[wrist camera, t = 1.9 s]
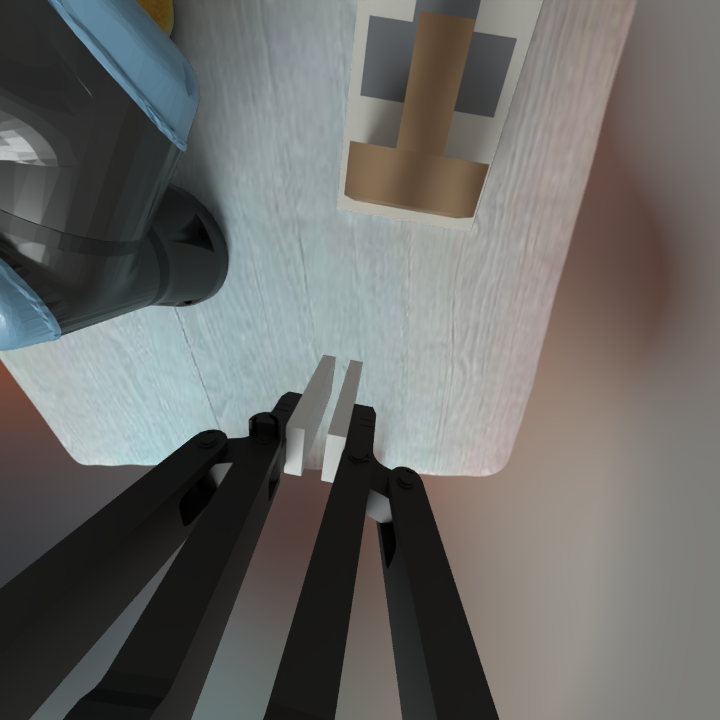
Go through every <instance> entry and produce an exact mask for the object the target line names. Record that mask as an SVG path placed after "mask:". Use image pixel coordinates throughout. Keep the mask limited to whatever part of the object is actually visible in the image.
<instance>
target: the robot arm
mask: <svg viewBox="0 0 720 720" xmlns="http://www.w3.org/2000/svg"><path fill="white" fill-rule="evenodd" d="M199 100H200V90H199V84H198V81H197V78H196V75H195V72H194V70H193V68H192V66H191V65H190V63H189V62H188V60H187V59H186V57H185V56H184V54H183V53H182V52H181V51H180V50H179V48H178V47H177V46H176V45H175V44H174V43H173V41H172V40H171V39H170V38H169V37H168V36H167V34H166V33H165V32H164V31H163V30H162V29H161V28H160V27H159V25H158V24H157V23H156V22H155V21H154V20H153V19H152V18H151V16H150V15H149V14H148V13H147V12H146V11H145V10H144V9H143V8H142V6H141V5H140V4H139V3H138V2H137V1H136V0H0V351H7V350H14V349H18V348H22V347H26V346H31V345H35V344H39V343H43V342H47V341H54V340H57V339H60V337H61V336H63V335H65V334H68V333H71V332H74V331H77V330H80V329H83V328H86V327H89V326H91V325H94V324H97V323H100V322H103V321H106V320H109V319H112V318H115V317H118V316H120V315H123V314H126V313H129V312H132V311H135V310H138V309H141V308H143V307H146V306H150V305H153V306H176V307H184V306H191V305H195V304H198V303H200V302H203V301H205V300H207V299H209V298H211V297H212V296H214V295H215V294H216V293H217V292H218V291H219V290H220V288H221V287H222V285H223V283H224V281H225V278H226V274H227V268H228V256H227V249H226V245H225V241H224V238H223V236H222V233H221V231H220V229H219V227H218V225H217V223H216V221H215V220H214V218H213V217H212V215H211V214H210V213H209V211H208V210H207V209H206V208H205V207H204V206H203V205H202V204H201V203H200V202H199V201H198V200H197V199H196V198H195V197H193V196H192V195H191V194H189V193H188V192H186V191H185V190H183V189H181V188H179V187H177V186H174V185H171V184H169V182H170V179H171V177H172V175H173V173H174V170H175V168H176V166H177V163H178V161H179V159H180V157H181V154H182V152H183V151H184V152H186V150H187V147H188V144H187V138H188V135H189V132H190V128H191V125H192V122H193V119H194V116H195V114H196V111H197V108H198V105H199ZM335 360H336V357H333V356H328V355H323V357H322V359H321V361H320V363H319V365H318V367H317V368H316V370H315V372H314V374H313V376H312V378H311V380H310V382H309V384H308V385H307V387H306V389H305V391H304V393H303V394H299V393H294V392H287V393H286V394H284V395H283V396H281V398H280V399H279V401H278V402H277V404H276V406H275V407H274V409H273V410H272V412H262V413H258V414H256V415H254V416H252V417H251V418H250V419H249V436H248V437H244V438H230V439H227V436H226V434H225V433H224V432H222V431H220V430H206V431H203V432H200V433H199V434H197V435H195V436H194V437H192V438H191V439H190V440H189V441H187V442H186V443H185V444H184V445H182V446H181V447H180V448H179V449H177V450H176V451H175V452H173V453H172V454H171V455H170V456H168V457H167V458H166V459H165V460H163V461H162V462H161V463H159V464H158V465H157V466H156V467H154V468H153V469H152V470H151V471H149V472H148V473H147V474H146V475H144V476H143V477H142V478H140V479H139V480H138V481H137V482H135V483H134V484H133V485H131V486H130V487H129V488H128V489H126V490H125V491H124V492H123V493H122V494H120V495H119V496H117V497H116V498H115V499H114V500H112V501H111V502H110V503H109V504H107V505H106V506H105V507H103V508H102V509H101V510H100V511H98V512H97V513H96V514H95V515H94V516H92V517H91V518H89V519H88V520H87V521H86V522H84V523H83V524H82V525H81V526H79V527H78V528H77V529H76V530H74V531H73V532H72V533H71V534H69V535H68V536H67V537H65V538H64V539H63V540H62V541H60V542H59V543H58V544H56V545H55V546H54V547H53V548H52V549H50V550H49V551H48V552H46V553H45V554H44V555H43V556H41V557H40V558H39V559H37V560H36V561H35V562H34V563H33V564H31V565H30V566H28V567H27V568H26V569H25V570H24V571H22V572H21V573H20V574H18V575H17V576H16V577H14V578H13V579H12V580H11V581H9V582H8V583H7V584H6V585H4V586H3V587H2V588H0V720H29V719H30V718H31V717H32V715H33V714H34V713H35V712H36V711H37V710H38V709H39V707H40V706H41V705H42V704H43V703H44V702H45V701H46V699H47V698H48V697H49V696H50V695H51V694H52V693H53V691H54V690H55V689H56V688H57V687H58V685H59V684H60V683H61V682H62V681H63V680H64V679H65V678H66V676H67V675H68V674H69V673H70V672H71V671H72V669H73V668H74V667H75V666H76V665H77V663H79V661H80V660H81V659H82V658H83V657H84V656H85V655H86V653H87V652H88V651H89V650H90V649H91V648H92V646H93V645H94V644H95V643H96V642H97V641H98V640H99V639H100V637H101V636H102V635H103V634H104V633H105V632H106V630H107V629H108V628H109V627H110V626H111V625H112V624H113V622H114V621H115V620H116V619H117V618H118V616H120V614H121V613H122V612H123V611H124V610H125V608H126V607H127V606H128V605H129V604H130V603H131V602H132V601H133V599H134V598H135V597H136V596H137V595H138V594H139V592H140V591H141V590H142V589H143V588H144V587H145V586H146V584H147V583H148V582H149V581H150V580H151V579H152V578H153V576H154V575H155V574H156V573H157V572H158V571H159V570H160V568H161V567H162V566H163V565H164V564H165V563H166V561H167V560H168V559H169V558H170V557H171V556H172V555H173V553H174V552H175V551H176V550H177V549H178V548H179V547H180V545H181V544H182V543H183V542H184V541H185V540H186V539H187V540H186V541H185V543H184V545H183V547H182V548H181V550H180V551H179V553H178V555H177V556H176V558H175V560H174V561H173V563H172V565H171V567H170V568H169V570H168V571H167V573H166V575H165V576H164V578H163V580H162V581H161V583H160V585H159V586H158V588H157V590H156V592H155V593H154V595H153V596H152V598H151V600H150V601H149V603H148V605H147V606H146V608H145V610H144V611H143V613H142V615H141V616H140V618H139V620H138V621H137V623H136V625H135V626H134V628H133V630H132V631H131V633H130V635H129V636H128V638H127V640H126V641H125V643H124V645H123V646H122V648H121V650H120V651H119V653H118V655H117V656H116V658H115V659H114V661H113V663H112V664H111V666H110V668H109V670H108V671H107V673H106V674H105V676H104V677H103V678H102V680H101V681H100V682H99V683H98V685H97V686H96V687H95V688H94V689H93V690H91V691H90V692H89V693H88V694H86V695H85V696H84V697H82V698H81V699H80V700H79V701H78V702H77V703H76V705H75V706H74V707H73V708H72V709H71V710H70V711H69V712H68V714H67V715H66V716H65V718H64V719H63V720H191V718H192V715H193V712H194V710H195V707H196V704H197V701H198V699H199V696H200V694H201V691H202V689H203V686H204V683H205V680H206V678H207V675H208V672H209V670H210V667H211V665H212V662H213V659H214V657H215V654H216V651H217V648H218V646H219V643H220V641H221V638H222V635H223V633H224V630H225V627H226V625H227V622H228V619H229V616H230V614H231V611H232V609H233V606H234V603H235V601H236V598H237V595H238V593H239V590H240V588H241V585H242V582H243V579H244V577H245V574H246V572H247V569H248V566H249V564H250V561H251V558H252V556H253V553H254V550H255V548H256V545H257V542H258V540H259V537H260V534H261V532H262V529H263V526H264V524H265V521H266V518H267V516H268V513H269V510H270V508H271V505H272V502H273V500H274V497H275V494H276V492H277V489H278V486H279V484H280V476H281V472H282V470H283V468H284V472H285V473H289V474H293V475H298V476H301V474H302V472H303V469H304V466H305V463H306V461H307V458H308V455H309V453H310V450H311V447H312V444H313V442H314V439H315V436H316V433H317V431H318V428H319V425H320V423H321V420H322V417H323V414H324V412H325V409H326V406H327V403H328V401H329V398H330V395H331V391H332V383H333V375H334V368H335ZM362 364H363V362H359V361H354V360H350V364H349V367H348V370H347V373H346V376H345V380H344V383H343V386H342V389H341V392H340V396H339V399H338V402H337V405H336V408H335V412H334V415H333V418H332V421H331V424H330V428H329V431H328V434H327V441H326V449H325V456H324V463H323V471H322V478H321V480H323V481H327V482H332V483H333V485H332V488H331V492H330V495H329V499H328V502H327V505H326V509H325V512H324V516H323V519H322V522H321V526H320V529H319V533H318V536H317V539H316V543H315V546H314V549H313V553H312V556H311V560H310V563H309V567H308V570H307V573H306V577H305V580H304V584H303V587H302V590H301V594H300V597H299V601H298V604H297V607H296V611H295V614H294V618H293V621H292V625H291V628H290V631H289V635H288V638H287V642H286V645H285V648H284V652H283V655H282V659H281V662H280V665H279V669H278V673H277V676H276V679H275V683H274V686H273V689H272V693H271V697H270V700H269V703H268V706H267V710H266V713H265V716H264V719H263V720H335V713H336V707H337V699H338V693H339V687H340V680H341V673H342V667H343V659H344V653H345V646H346V640H347V633H348V627H349V619H350V613H351V606H352V599H353V593H354V586H355V579H356V573H357V566H358V560H359V553H360V546H361V539H362V533H363V526H364V519H365V514H366V515H368V516H370V517H371V518H373V519H375V520H376V522H377V529H378V537H379V545H380V552H381V560H382V567H383V575H384V583H385V590H386V597H387V605H388V613H389V620H390V628H391V635H392V643H393V651H394V659H395V666H396V673H397V681H398V688H399V696H400V704H401V711H402V719H403V720H499V717H498V714H497V711H496V708H495V705H494V702H493V699H492V696H491V693H490V689H489V686H488V683H487V680H486V677H485V674H484V671H483V668H482V665H481V662H480V658H479V655H478V652H477V649H476V646H475V643H474V640H473V637H472V634H471V631H470V627H469V624H468V621H467V618H466V615H465V612H464V609H463V606H462V603H461V600H460V597H459V593H458V590H457V587H456V584H455V582H454V578H453V575H452V572H451V569H450V565H449V562H448V559H447V556H446V553H445V550H444V547H443V544H442V541H441V538H440V535H439V531H438V529H437V525H436V522H435V519H434V516H433V513H432V510H431V507H430V504H429V500H428V497H427V494H426V491H425V488H424V485H423V482H422V480H421V478H420V476H419V475H418V474H417V473H416V472H415V471H414V470H412V469H410V468H407V467H396V468H394V469H393V470H391V469H389V468H387V467H385V466H383V465H382V464H380V463H379V462H378V461H377V460H376V458H375V457H374V454H373V443H374V432H375V421H376V413H375V411H374V409H373V407H369V406H364V405H359V404H355V402H356V397H357V391H358V386H359V380H360V375H361V370H362ZM284 465H285V466H284ZM187 537H188V538H187Z"/></svg>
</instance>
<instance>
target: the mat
mask: <svg viewBox="0 0 720 720" xmlns="http://www.w3.org/2000/svg"><path fill="white" fill-rule="evenodd" d="M542 2H543V0H358V6H357V16H356V26H355V36H354V45H353V55H352V65H351V74H350V84H349V94H348V104H347V113H346V123H345V133H344V142H343V152H342V162H341V172H340V181H339V191H338V201H337V209H342V210H348V211H353V212H359V213H365V214H370V215H376V216H381V217H387V218H393V219H398V220H404V221H410V222H415V223H421V224H426V225H432V226H438V227H443V228H449V229H455V230H460V231H466V232H471V228H472V225H473V222H474V219H475V216H476V213H477V209H478V206H479V203H480V200H481V197H482V193H483V190H484V187H485V184H486V181H487V177H488V174H489V171H490V168H491V165H492V162H493V158H494V155H495V152H496V149H497V146H498V142H499V139H500V136H501V133H502V130H503V127H504V123H505V120H506V117H507V114H508V111H509V107H510V104H511V101H512V98H513V95H514V92H515V88H516V85H517V82H518V79H519V76H520V72H521V69H522V66H523V63H524V60H525V57H526V53H527V50H528V47H529V44H530V41H531V37H532V34H533V31H534V28H535V25H536V22H537V18H538V15H539V12H540V9H541V6H542ZM420 11H425V12H431V13H437V14H444V15H450V16H457V17H463V18H469V19H476V21H475V25H474V30H473V34H472V38H471V42H470V46H469V50H468V54H467V58H466V63H465V67H464V71H463V75H462V79H461V83H460V87H459V91H458V95H457V100H456V104H455V108H454V112H453V116H452V120H451V124H450V128H449V133H448V137H447V141H446V145H445V149H444V153H443V157H448V158H454V159H460V160H466V161H472V162H478V163H483V164H489V168H488V171H487V175H486V178H485V181H484V184H483V187H482V191H481V194H480V197H479V200H478V203H477V207H476V210H475V213H474V216H473V218H458V219H456V218H450V217H444V216H439V215H433V214H427V213H422V212H416V211H410V210H405V209H399V208H393V207H388V206H382V205H376V204H371V203H365V202H359V201H354V200H352V199H351V198H349V197H347V196H345V195H344V191H345V182H346V173H347V164H348V155H349V146H350V141H355V142H361V143H366V144H372V145H378V146H384V147H390V148H396V147H397V141H398V135H399V130H400V124H401V118H402V113H403V107H404V101H405V96H406V90H407V84H408V79H409V73H410V67H411V62H412V56H413V50H414V45H415V39H416V33H417V27H418V22H419V16H420Z"/></svg>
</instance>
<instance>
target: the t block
mask: <svg viewBox="0 0 720 720" xmlns="http://www.w3.org/2000/svg"><path fill="white" fill-rule="evenodd" d="M475 21H476V19H469V18H463V17H457V16H450V15H444V14H437V13H431V12H425V11H420V16H419V22H418V27H417V33H416V39H415V45H414V50H413V56H412V62H411V67H410V73H409V79H408V84H407V90H406V96H405V101H404V107H403V113H402V118H401V124H400V130H399V135H398V141H397V147H396V148H390V147H384V146H378V145H372V144H366V143H361V142H355V141H350V146H349V155H348V164H347V173H346V182H345V191H344V195H345V196H347V197H349V198H351V199H352V200H354V201H359V202H365V203H371V204H376V205H382V206H388V207H393V208H399V209H405V210H410V211H416V212H422V213H427V214H433V215H439V216H444V217H450V218H456V219H458V218H473V216H474V213H475V210H476V207H477V203H478V200H479V197H480V194H481V191H482V187H483V184H484V181H485V178H486V175H487V171H488V168H489V164H483V163H478V162H472V161H466V160H460V159H454V158H448V157H443V153H444V149H445V145H446V141H447V137H448V133H449V128H450V124H451V120H452V116H453V112H454V108H455V104H456V100H457V95H458V91H459V87H460V83H461V79H462V75H463V71H464V67H465V63H466V58H467V54H468V50H469V46H470V42H471V38H472V34H473V30H474V25H475Z"/></svg>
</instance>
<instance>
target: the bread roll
mask: <svg viewBox="0 0 720 720" xmlns="http://www.w3.org/2000/svg"><path fill="white" fill-rule="evenodd" d="M136 1H137V2H138V3H139V4H140V5H141V6H142V8H143V9H144V10H145V11H146V12H147V13H148V14H149V15H150V16H151V18H152V19H153V20H154V21H155V22H156V23H157V24H158V25H159V27H160V28H161V29H162V30H163V31H164V32H165V33H166V34H167V36H168V37H170V35H171V32H172V29H173V26H174V9H173V0H136Z"/></svg>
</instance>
